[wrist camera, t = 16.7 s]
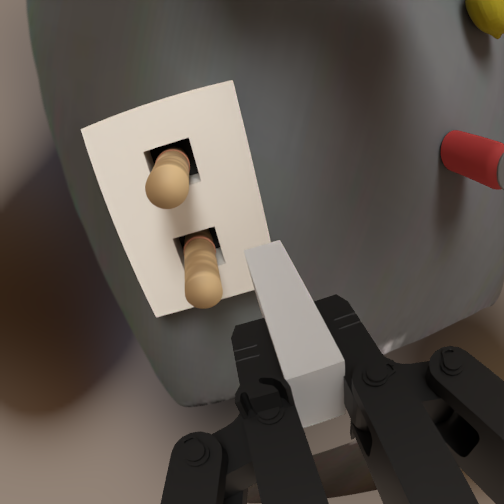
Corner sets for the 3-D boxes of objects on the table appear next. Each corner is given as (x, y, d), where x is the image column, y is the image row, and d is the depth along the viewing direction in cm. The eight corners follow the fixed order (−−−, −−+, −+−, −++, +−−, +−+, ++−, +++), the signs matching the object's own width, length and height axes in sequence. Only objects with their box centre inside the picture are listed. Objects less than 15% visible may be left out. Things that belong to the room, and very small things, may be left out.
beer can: (450, 178, 43) (505, 203, 33) (432, 150, 40) (490, 171, 30) (470, 149, 41) (525, 170, 31) (453, 120, 39) (512, 135, 28)
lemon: (490, 41, 33) (525, 42, 26) (464, 37, 33) (500, 35, 26) (476, -15, 28) (509, -19, 21) (447, -23, 27) (482, -31, 20)
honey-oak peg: (208, 218, 39) (217, 270, 28) (216, 243, 41) (228, 303, 29) (180, 226, 39) (178, 282, 28) (188, 251, 41) (191, 313, 29)
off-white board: (227, 82, 32) (232, 80, 28) (271, 264, 44) (279, 282, 40) (92, 125, 31) (80, 129, 27) (158, 297, 43) (156, 317, 39)
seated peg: (185, 139, 34) (182, 159, 23) (193, 169, 36) (195, 202, 25) (154, 149, 34) (137, 173, 23) (164, 178, 36) (152, 216, 25)
